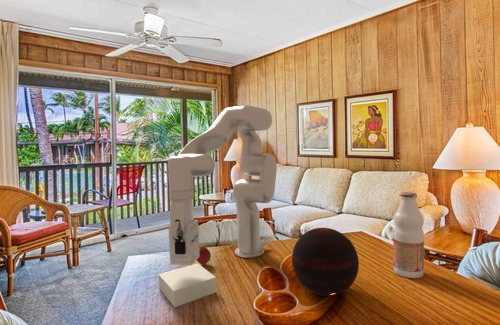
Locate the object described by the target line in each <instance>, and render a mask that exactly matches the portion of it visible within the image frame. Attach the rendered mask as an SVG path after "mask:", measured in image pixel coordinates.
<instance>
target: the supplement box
mask: <svg viewBox="0 0 500 325" xmlns="http://www.w3.org/2000/svg"><path fill="white" fill-rule="evenodd" d="M179 231H183V229H182V228H181V226H180V227H179ZM199 233H200V232H199V220H198V219H194V220H193V221H191V222H190V223H189V224H188V225H187V226H186V232H185V233H184V241H185V249H186V253H185V254H175V242H174V238H173V237H174V236H173V234H172V233H171V231H170V224H169V225H168V242H169V244H168V245H169V246H168V247H169V260H170V262H169V263H170V265H175V266H189V265H193V264H195V262H196V261H197V259H198V258H199V257H200V254H199V248H200V237H199V235H200V234H199ZM179 235H180V236H182V234H179Z"/></svg>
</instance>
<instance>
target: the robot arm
mask: <svg viewBox="0 0 500 325" xmlns="http://www.w3.org/2000/svg"><path fill="white" fill-rule="evenodd" d="M272 124H273V116H272V114H271V112H270V111H269V110H268V109H266V108H263V107H259V106H258V107H257V106H254V105H246V104H245V105H237V106H230V107H229V106H228V107H226V108H224V109H223V110H222V111H221V113H220V114H219V115H218V116H217V118H216V119H215V120H214V122H213V123H212V124H211V125H210V127H209V128H208V129H207V130H206V131H204V132H203V133H201V134H199V135H198V136H196V137H195V138H193V139H192V140H190V141H189V142H188V143H187V144H186V145H185V146H184V147H183V148H182V150H180V152H179V153H178V154H177V155H176V156H175V155H174V156H170V157H168V159H167V169H168V186H169V201H170V208H169V210H170V211H169V225H170V231H171V233H172V234H173V236H174V237H173V238H174V242H175V254H185V253H186V249H185V241H184V233H185V232H186V226H187V225H188V224H189V223H190V222H191V221H193V220H195V213H194V204H193V203H194V202H193V200H195V191H194V190H195V186H194V177H195V178H196V177H201V178H203V177H207V176H210V175H211V174H212V173H213V172H214V170H215V168H216V167H215V166H216V162H215V160H214V158H213V157H212V156H211V155H208V153H210V152H214V151H216V150H219V149H222V148H224V147H226V145H228V143H229V142H230V140H231V139H232V138H233V136H234V134H235V133H236V131H237V132H238V134H239V136H240V139H241V150H240V151H241V152H240V160H239V171H240V173H241V174H242V175H245V176H248V177H249V176H250V177H260V178H259V179H256V178H241V179H238V180H237V181H235V182H234V184H233V187H232V191H233V198H234V202H235V208H236V226H237V246H238V247H236V248H235V249H234V254H235V255H236V256H237V257H239V258H245V259H250V258H258V257H260V256H262V255H263V254H264V253H265V248H264V246H267V245H269V244H270V240H269V239H265V240H264V239H261V226H260V225H261V223H260V222H261V221H260V210H259V207H258V205H257V204H270V203H271V202H272V201H273V199H274V196H275V190H276V180H277V169H278V168H277V167H278V165H277V159H276V158H275V156H274V155H273V154H271V153H267V152H266V153H265V152H263V153H262V150H263V149H262V147H263V143H262V139H261V137H260V135H259V134H258V131H266V130H268V129H270V128H271V127H272ZM180 226H181V228H182V229H183V231H179V227H180ZM179 234H182V236H180V235H179Z"/></svg>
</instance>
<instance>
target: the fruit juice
mask: <svg viewBox="0 0 500 325" xmlns="http://www.w3.org/2000/svg"><path fill="white" fill-rule="evenodd" d="M400 198H401V200H400V203H399V206H398V208H397V210H396V211H395V212H394V215H393V222H394V226H395V227H394V229H393V235H392V236H393V237H392V238H393V240H392V241H393V242H392V246H393V247H392V250H393V251H392V252H393V254H392V255H393V256H392V258H393V264H392V265H393V267H392V268H393V272H394V273H395V274H396V275H398V276H400V277H404V278H407V279H419V278H422V277H423V276H424V274H425V232H424V230H423V227H424V226H423V225H424V222H425V219H424V215H423V213H422V212H421V210H420V208H419V206H418V203H417V198H418V194H417V193H416V192H413V191H412V192H411V191H402V192H400Z"/></svg>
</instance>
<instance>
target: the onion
mask: <svg viewBox="0 0 500 325" xmlns="http://www.w3.org/2000/svg"><path fill="white" fill-rule="evenodd" d="M199 254H200V257H199V258H198V259H197V260H196V261H197V263H198V264H199V265H201V266H205V265H206V264H207V263H209V262H210V260H211V257H212V256H211V251H210V250H209V249H208V248H207V247H206V246H204V245H203V244H201V245H200V247H199Z"/></svg>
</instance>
